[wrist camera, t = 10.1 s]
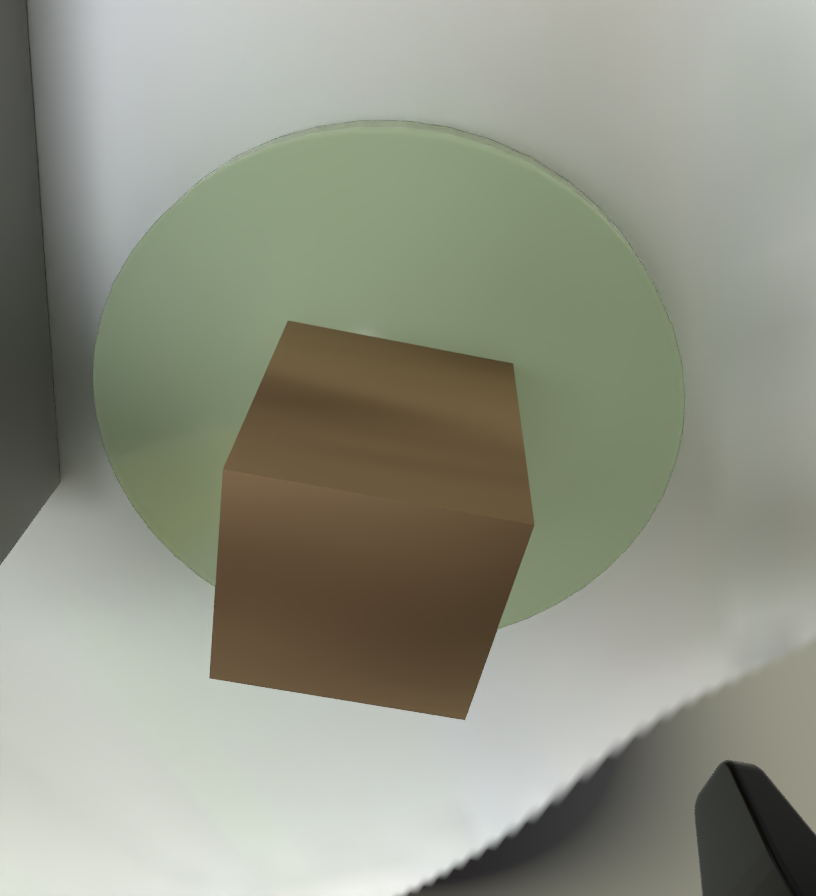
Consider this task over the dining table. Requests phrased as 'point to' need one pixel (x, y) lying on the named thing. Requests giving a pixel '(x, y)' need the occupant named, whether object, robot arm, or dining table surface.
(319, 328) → the walnut block
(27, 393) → the gray rectangular frame
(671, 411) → the plate
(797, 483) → the dining table surface
